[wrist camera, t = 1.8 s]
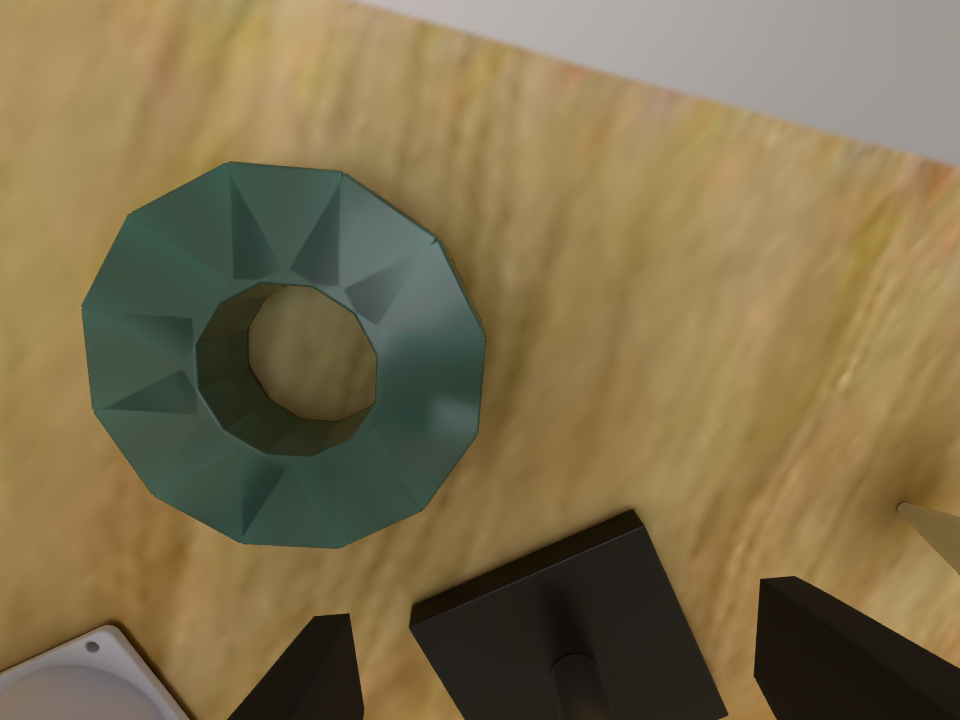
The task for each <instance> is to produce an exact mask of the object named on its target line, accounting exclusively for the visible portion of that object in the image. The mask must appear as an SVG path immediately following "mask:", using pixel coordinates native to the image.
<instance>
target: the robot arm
mask: <svg viewBox="0 0 960 720" xmlns="http://www.w3.org/2000/svg"><path fill="white" fill-rule="evenodd" d="M754 677H755V679H756V681H757V683H758V685H759V687H760V689H761V691H762V693H763V695H764V696H765V698H766V700H767V702H768V704H769V706H770V708H771V710H772V712H773V714H774V715H775V717H776V719H777V720H960V669H959V668H958V667H956V666H954V665H952V664H951V663H949V662H947V661H945V660H943V659H942V658H940V657H938V656H936V655H935V654H933V653H931V652H929V651H928V650H926V649H924V648H922V647H921V646H919V645H917V644H915V643H914V642H912V641H910V640H908V639H906V638H905V637H903V636H901V635H900V634H898V633H896V632H894V631H893V630H891V629H889V628H887V627H886V626H884V625H882V624H880V623H879V622H877V621H875V620H873V619H872V618H870V617H868V616H866V615H865V614H863V613H861V612H859V611H858V610H856V609H854V608H852V607H851V606H849V605H847V604H845V603H844V602H842V601H840V600H838V599H837V598H835V597H833V596H831V595H829V594H828V593H826V592H824V591H822V590H820V589H819V588H817V587H815V586H813V585H811V584H809V583H807V582H805V581H803V580H802V579H800V578H798V577H796V576H790V577H778V578H766V579H760V591H759V606H758V620H757V635H756V650H755V665H754ZM363 715H364V704H363V698H362V691H361V685H360V678H359V672H358V666H357V659H356V653H355V646H354V640H353V634H352V627H351V621H350V615H349V613H348V614H336V615H324V616H314V617H313V618H312V620H311V621H310V622H309V623H308V624H307V625H306V626H305V628H304V629H303V630H302V631H301V632H300V633H299V635H298V636H297V637H296V638H295V639H294V641H293V642H292V643H291V644H290V645H289V647H288V648H287V649H286V650H285V651H284V653H283V654H282V655H281V656H280V658H279V659H278V660H277V661H276V662H275V664H274V665H273V666H272V667H271V668H270V670H269V671H268V672H267V673H266V674H265V676H264V677H263V678H262V679H261V680H260V682H259V683H258V684H257V685H256V686H255V688H254V689H253V690H252V691H251V692H250V694H249V695H248V696H247V697H246V698H245V699H244V701H243V702H242V703H241V704H240V705H239V706H238V707H237V709H236V710H235V711H234V712H233V713H232V714H231V716H230V717H229V718H228V719H227V720H363ZM0 720H190V719H189V718H188V717H187V715H186V714H185V713H184V711H183V710H182V709H181V708H180V706H179V705H178V704H177V703H176V701H175V700H174V699H173V697H172V696H171V695H170V694H169V692H168V691H167V690H166V688H165V687H164V686H163V685H162V683H161V682H160V681H159V680H158V678H157V677H156V676H155V674H154V673H153V672H152V671H151V669H150V668H149V667H148V665H147V664H146V663H145V662H144V660H143V659H142V658H141V657H140V655H139V654H138V653H137V651H136V650H135V649H134V648H133V646H132V645H131V644H130V642H129V641H128V640H127V639H126V637H125V636H124V635H123V634H122V632H121V631H120V630H119V629H118V628H117V627H115V626H113V625H105V626H101V627H99V628H97V629H95V630H93V631H90V632H88V633H86V634H84V635H82V636H80V637H77V638H75V639H73V640H71V641H69V642H66V643H64V644H62V645H60V646H58V647H56V648H53V649H51V650H49V651H47V652H45V653H43V654H40V655H38V656H36V657H34V658H32V659H29V660H27V661H25V662H23V663H21V664H19V665H16V666H14V667H12V668H10V669H8V670H6V671H3V672H1V673H0Z"/></svg>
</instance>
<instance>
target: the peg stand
mask: <svg viewBox="0 0 960 720" xmlns="http://www.w3.org/2000/svg"><path fill="white" fill-rule="evenodd" d="M409 629H410V631H411V632H412V634H413V636H414V637H415V639H416V641H417V642H418V644H419V646H420V647H421V649H422V650H423V652H424V654H425V655H426V657H427V659H428V660H429V662H430V664H431V665H432V667H433V668H434V670H435V672H436V673H437V675H438V677H439V678H440V680H441V681H442V683H443V685H444V686H445V688H446V690H447V691H448V693H449V695H450V696H451V698H452V699H453V701H454V703H455V704H456V706H457V708H458V709H459V711H460V713H461V714H462V716H463V717H464V719H465V720H718V719H721V718H723V717H726V716H728V712H727V710H726V707H725V705H724V703H723V701H722V699H721V696H720V694H719V692H718V690H717V687H716V685H715V683H714V681H713V678H712V676H711V674H710V672H709V669H708V667H707V665H706V663H705V660H704V658H703V656H702V654H701V651H700V649H699V647H698V645H697V642H696V640H695V638H694V636H693V633H692V631H691V629H690V627H689V625H688V622H687V620H686V618H685V616H684V613H683V611H682V609H681V607H680V604H679V602H678V600H677V598H676V595H675V593H674V591H673V589H672V586H671V584H670V582H669V580H668V577H667V575H666V573H665V571H664V568H663V566H662V564H661V562H660V559H659V557H658V555H657V553H656V550H655V548H654V546H653V544H652V542H651V539H650V537H649V535H648V533H647V530H646V528H645V526H644V524H643V523H642V521H641V520H640V518H639V517H638V515H637V514H636V512H635V511H634V510H633V509H631V510H629V511H627V512H625V513H622V514H620V515H618V516H616V517H613V518H611V519H609V520H606V521H604V522H602V523H600V524H597V525H595V526H593V527H590V528H588V529H586V530H584V531H581V532H579V533H577V534H575V535H572V536H570V537H568V538H565V539H563V540H561V541H559V542H556V543H554V544H552V545H549V546H547V547H545V548H543V549H540V550H538V551H536V552H534V553H531V554H529V555H527V556H524V557H522V558H520V559H518V560H515V561H513V562H511V563H508V564H506V565H504V566H502V567H499V568H497V569H495V570H493V571H490V572H488V573H486V574H483V575H481V576H479V577H477V578H474V579H472V580H470V581H468V582H465V583H463V584H461V585H458V586H456V587H454V588H452V589H449V590H447V591H445V592H442V593H440V594H438V595H436V596H433V597H431V598H429V599H427V600H424V601H422V602H420V603H417V604H415V605H413V606H412V610H411V616H410V623H409Z"/></svg>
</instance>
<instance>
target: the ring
mask: <svg viewBox="0 0 960 720" xmlns="http://www.w3.org/2000/svg"><path fill="white" fill-rule="evenodd" d="M288 285H292V286H305V287H313V288H315V289H316V290H318V291H319V292H321V293H322V294H324V295H325V296H327V297H328V298H330V299H332V300H333V301H335V302H336V303H338V304H339V305H341V306H342V307H344V308H345V309H347V310H348V311H350V312H352V313H353V314H354V315H355V317H356V319H357V320H358V322H359V324H360V326H361V328H362V330H363V331H364V333H365V335H366V337H367V339H368V341H369V342H370V344H371V346H372V348H373V350H374V352H375V354H376V355H377V362H376V396H375V402H374V404H373V405H372V406H371V407H369V408H367V409H365V410H363V411H360V412H358V413H356V414H354V415H352V416H350V417H348V418H346V419H344V420H342V421H339V422H336V421H320V420H304V419H300V418H299V417H297V416H295V415H294V414H292V413H290V412H289V411H287V410H285V409H284V408H282V407H280V406H279V405H277V404H275V403H274V402H272V401H270V400H269V399H268V398H267V396H266V395H265V393H264V391H263V390H262V388H261V387H260V385H259V383H258V382H257V380H256V378H255V377H254V375H253V373H252V372H251V370H250V369H249V367H248V343H247V329H248V327H249V325H250V323H251V322H252V320H253V318H254V317H255V315H256V313H257V312H258V310H259V308H260V306H261V305H262V303H263V301H264V300H265V298H266V296H268V295H270V294H272V293H274V292H276V291H278V290H280V289H282V288H284V287H286V286H288ZM81 307H82V319H83V328H84V337H85V347H86V356H87V365H88V375H89V384H90V393H91V402H92V409H93V410H94V414H95V415H96V416H97V418H98V419H99V421H100V422H101V423H102V425H103V426H104V428H105V429H106V431H107V432H108V433H109V435H110V436H111V438H112V439H113V440H114V442H115V443H116V445H117V446H118V448H119V449H120V450H121V452H122V453H123V455H124V456H125V457H126V459H127V460H128V462H129V463H130V464H131V466H132V467H133V469H134V470H135V472H136V473H137V474H138V476H139V477H140V479H141V480H142V481H143V483H144V484H145V486H146V487H147V488H148V490H149V491H150V493H151V494H154V497H156V498H158V499H160V500H162V501H164V502H165V503H167V504H169V505H171V506H173V507H175V508H176V509H178V510H180V511H182V512H184V513H186V514H187V515H189V516H191V517H193V518H195V519H197V520H198V521H200V522H202V523H204V524H206V525H208V526H209V527H211V528H213V529H215V530H217V531H219V532H220V533H222V534H224V535H226V536H228V537H230V538H232V539H233V540H235V541H237V542H239V543H241V542H242V544H253V545H273V546H293V547H312V548H332V549H337V548H341V547H343V546H346V545H348V544H350V543H352V542H354V541H357V540H359V539H361V538H363V537H365V536H368V535H370V534H372V533H374V532H376V531H379V530H381V529H383V528H385V527H388V526H390V525H392V524H394V523H396V522H399V521H401V520H403V519H405V518H407V517H410V516H412V515H414V514H416V513H418V512H421V511H422V510H423V509H424V508H425V507H426V506H427V505H428V503H429V502H430V500H431V499H432V498H433V496H434V495H435V493H436V492H437V491H438V489H439V488H440V486H441V485H442V484H443V482H444V481H445V480H446V478H447V477H448V475H449V474H450V473H451V471H452V470H453V468H454V467H455V466H456V464H457V463H458V461H459V460H460V459H461V457H462V456H463V455H464V453H465V452H466V450H467V449H468V448H469V446H470V445H471V443H472V442H473V441H474V439H475V438H476V436H477V434H478V431H479V419H480V406H481V394H482V381H483V369H484V357H485V344H486V336H485V332H484V328H483V324H482V320H481V317H480V315H479V313H478V311H477V309H476V307H475V305H474V303H473V301H472V299H471V297H470V295H469V293H468V290H467V288H466V286H465V284H464V282H463V280H462V278H461V276H460V274H459V272H458V270H457V268H456V266H455V263H454V261H453V259H452V257H451V255H450V253H449V251H448V249H447V247H446V245H445V244H444V243H443V242H442V240H441V239H439V238H438V237H437V236H436V235H434V234H433V233H431V232H430V231H429V230H427V229H426V228H424V227H423V226H421V225H420V224H418V223H417V222H416V221H414V220H413V219H411V218H410V217H408V216H407V215H406V214H404V213H403V212H401V211H400V210H398V209H397V208H396V207H394V206H393V205H391V204H390V203H388V202H387V201H386V200H384V199H383V198H381V197H380V196H378V195H377V194H376V193H374V192H373V191H371V190H370V189H368V188H367V187H366V186H364V185H363V184H361V183H360V182H358V181H357V180H355V179H354V178H353V177H351V176H350V175H348V174H347V173H343V172H342V171H336V170H324V169H312V168H301V167H289V166H277V165H266V164H254V163H243V162H231V161H230V162H228V163H224V164H222V165H220V166H218V167H216V168H214V169H212V170H211V171H209V172H207V173H205V174H203V175H201V176H199V177H197V178H195V179H194V180H192V181H190V182H188V183H186V184H184V185H182V186H180V187H178V188H177V189H175V190H173V191H171V192H169V193H167V194H165V195H163V196H161V197H160V198H158V199H156V200H154V201H152V202H150V203H148V204H146V205H144V206H143V207H141V208H139V209H137V210H135V211H133V212H132V213H131V214H128V216H127V217H126V219H125V221H124V223H123V225H122V227H121V229H120V231H119V233H118V235H117V237H116V239H115V241H114V243H113V245H112V247H111V249H110V251H109V253H108V255H107V257H106V259H105V260H104V262H103V264H102V266H101V268H100V270H99V272H98V274H97V276H96V278H95V280H94V282H93V284H92V286H91V288H90V290H89V292H88V294H87V296H86V298H85V300H84V302H83V303H82V305H81Z"/></svg>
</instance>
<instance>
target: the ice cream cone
mask: <svg viewBox="0 0 960 720" xmlns="http://www.w3.org/2000/svg"><path fill="white" fill-rule="evenodd" d="M897 511H898V512H899V513H900V514H901V515H902V516H903V517H904V518H905V520H906V521H907V522H908V523H909V524H910V525H911V526H912V527H913V528H914V529H915V530H916V531H917V532H918V533H919V534H920V535H921V536H922V537H923V538H924V539H925V540H926V541H927V542H928V543H929V544H930V545H931V546H932V547H933V548H934V549H935V550H936V551H937V552H938V553H939V554H940V555H941V556H942V557H943V558H944V559H945V560H946V561H947V562H948V563H949V565H950V566H951V567H952V568H953V569H954V570H955V571H956V572H957V573H958V574H959V575H960V517H957V516H953V515H950V514H946V513H942V512H938V511H935V510H931V509H927V508H923V507H920V506H916V505H912V504H908V503H901V504H900V505H899V506H898V508H897Z"/></svg>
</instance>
